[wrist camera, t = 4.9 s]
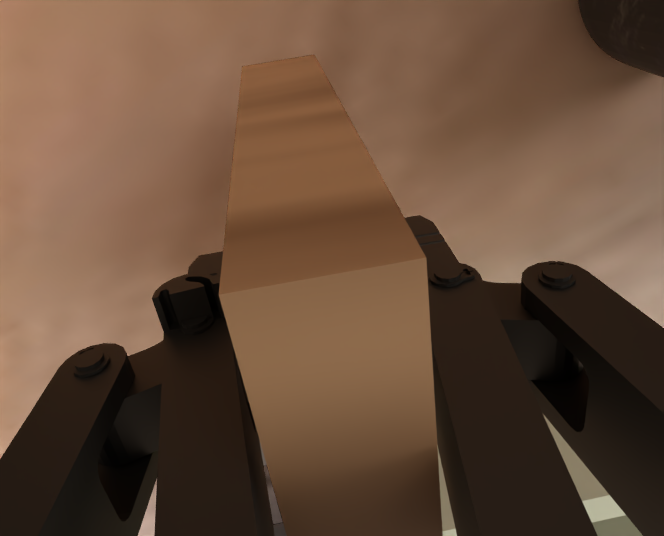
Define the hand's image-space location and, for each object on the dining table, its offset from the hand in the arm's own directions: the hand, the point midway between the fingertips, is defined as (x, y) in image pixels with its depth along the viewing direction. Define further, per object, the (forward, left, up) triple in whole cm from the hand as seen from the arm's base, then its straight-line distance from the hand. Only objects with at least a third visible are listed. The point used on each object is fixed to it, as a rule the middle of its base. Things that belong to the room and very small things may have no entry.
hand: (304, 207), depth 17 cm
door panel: (0, 0, -2) cm, 2 cm away
